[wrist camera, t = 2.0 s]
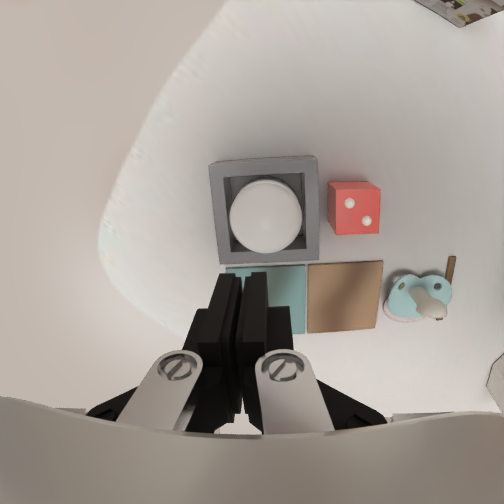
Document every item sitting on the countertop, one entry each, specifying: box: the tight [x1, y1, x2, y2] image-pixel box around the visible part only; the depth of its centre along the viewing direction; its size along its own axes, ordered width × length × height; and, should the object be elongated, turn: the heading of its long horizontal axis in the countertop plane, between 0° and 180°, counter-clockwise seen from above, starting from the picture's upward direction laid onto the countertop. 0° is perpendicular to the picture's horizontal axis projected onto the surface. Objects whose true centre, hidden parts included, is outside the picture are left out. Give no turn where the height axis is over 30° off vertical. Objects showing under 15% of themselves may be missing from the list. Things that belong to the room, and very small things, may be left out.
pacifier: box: [384, 274, 452, 322], centre depth 26 cm, size 7×6×6 cm
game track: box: [226, 256, 456, 334], centre depth 29 cm, size 23×8×1 cm, turn 94°
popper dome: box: [230, 177, 302, 253], centre depth 22 cm, size 5×5×5 cm
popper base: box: [209, 156, 380, 264], centre depth 24 cm, size 13×8×4 cm, turn 94°
